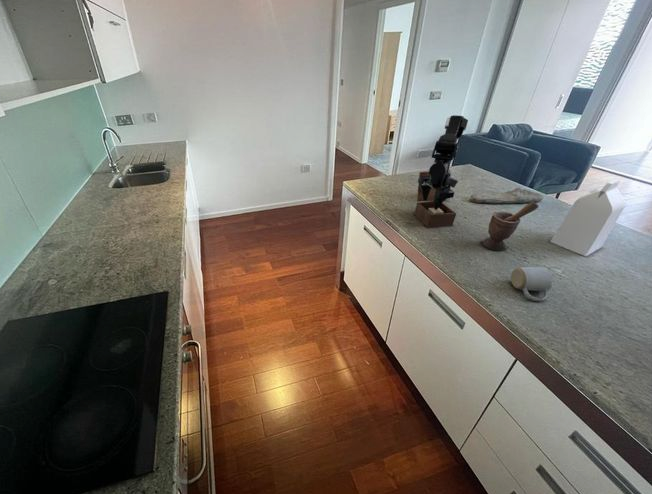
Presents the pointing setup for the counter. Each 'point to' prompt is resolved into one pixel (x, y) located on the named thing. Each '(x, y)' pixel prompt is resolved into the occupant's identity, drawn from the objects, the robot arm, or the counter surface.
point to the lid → (431, 193)
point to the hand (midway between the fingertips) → (430, 204)
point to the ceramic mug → (532, 280)
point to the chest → (434, 215)
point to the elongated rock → (507, 197)
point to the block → (435, 211)
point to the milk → (590, 220)
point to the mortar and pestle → (505, 226)
